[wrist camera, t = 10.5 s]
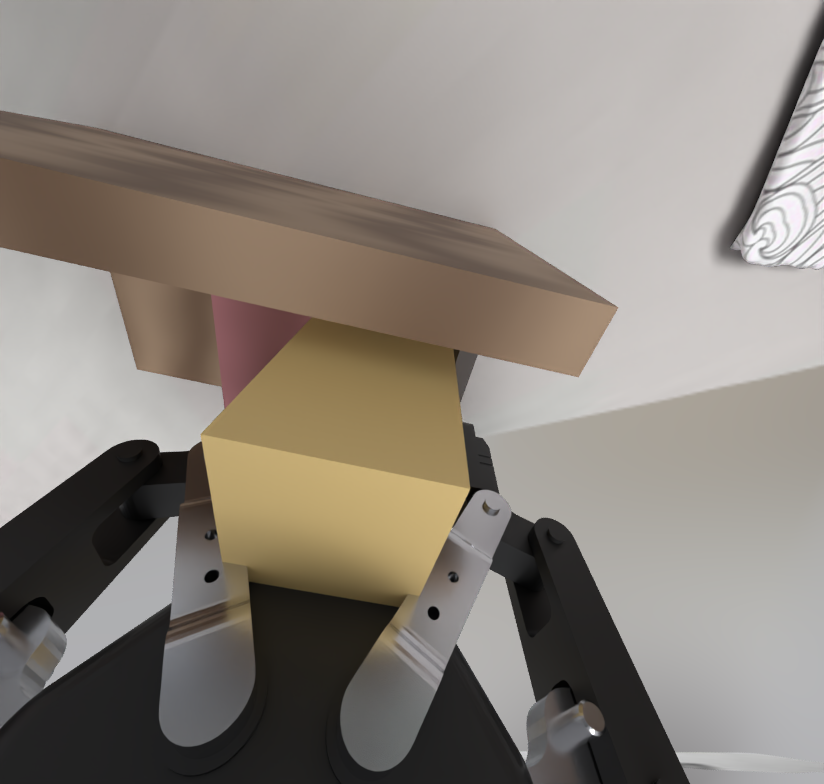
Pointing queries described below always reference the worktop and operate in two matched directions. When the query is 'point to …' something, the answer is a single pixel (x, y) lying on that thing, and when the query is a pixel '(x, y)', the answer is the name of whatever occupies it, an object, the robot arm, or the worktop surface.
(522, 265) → the shelf
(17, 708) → the robot arm
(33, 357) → the worktop surface
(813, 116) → the cookie jar
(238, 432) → the ochre book
